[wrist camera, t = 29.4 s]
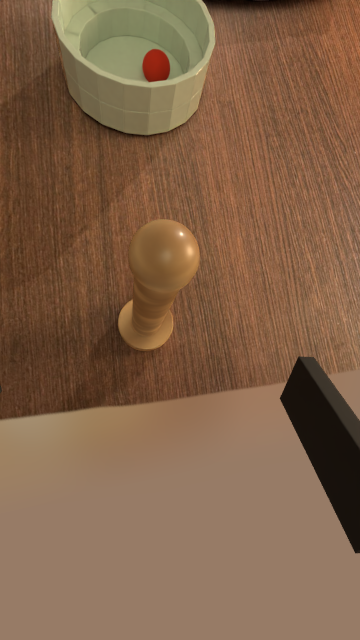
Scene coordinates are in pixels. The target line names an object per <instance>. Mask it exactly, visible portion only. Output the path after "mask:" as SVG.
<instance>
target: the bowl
mask: <svg viewBox="0 0 360 640" xmlns="http://www.w3.org/2000/svg"><path fill="white" fill-rule="evenodd" d="M51 18H52V23H53V27H54V32H55V37H56V42H57V47H58V51H59V56H60V61H61V65H62V70H63V75H64V78H65V81H66V84H67V87H68V90H69V93H70V95H71V96H72V97H73V98H74V100H75V101H76V102H77V104H78V105H79V106H80V107H81V109H82V110H83V111H84V112H85V113H87V114H88V115H90V116H91V117H92V118H94V119H95V120H97V121H98V122H100V123H101V124H103V125H105V126H108V127H111V128H113V129H116V130H119V131H121V132H124V133H131V134H141V135H151V134H157V133H163V132H168V131H170V130H172V129H174V128H176V127H178V126H179V125H181V124H183V123H185V122H186V121H187V120H188V119H189V118H190V117H191V116H192V115H193V113H194V112H195V111H196V110H197V108H198V105H199V102H200V100H201V97H202V94H203V90H204V86H205V82H206V78H207V74H208V70H209V66H210V62H211V58H212V54H213V50H214V46H215V32H214V23H213V21H212V18H211V16H210V14H209V12H208V10H207V7H206V5H205V4H204V3H203V1H202V0H52V14H51ZM152 49H159V50H161V51H163V52H164V53H165V54H166V55H167V57H168V59H169V62H170V74H169V76H168V78H167V80H163V81H156V82H149V81H148V80H147V79H146V78H145V76H144V73H143V69H142V63H143V59H144V56H145V55H146V53H147V52H148V51H150V50H152Z"/></svg>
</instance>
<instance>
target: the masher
mask: <svg viewBox="0 0 360 640" xmlns="http://www.w3.org/2000/svg"><path fill="white" fill-rule="evenodd" d="M199 260H200V252H199V247H198V243H197V241H196V239H195V237H194V236H193V234H192V233H191V232H190V231H189V230H188V229H187V228H186V227H185V226H183V225H182V224H180V223H178V222H176V221H172V220H167V219H160V220H155V221H151V222H149V223H147V224H145V225H144V226H142V227H141V228H140V229H139V230H138V231H137V232H136V233H135V235H134V236H133V238H132V240H131V242H130V245H129V250H128V262H129V266H130V269H131V271H132V273H133V275H134V283H133V299H132V300H130V301H129V302H128V303H127V304H125V306H124V307H123V308H122V310H121V312H120V314H119V318H118V328H119V332H120V335H121V337H122V339H123V340H124V342H125V343H126V344H127V345H129V346H130V347H132V348H134V349H136V350H139V351H151V350H155V349H157V348H159V347H160V346H162V345H163V344H164V343H165V342H166V341H167V340H168V338H169V337H170V335H171V333H172V329H173V317H172V314H171V312H170V310H169V309H170V307H171V305H172V303H173V301H174V299H175V297H176V295H177V294H178V292H179V290H180V289H181V288H182V287H184V286H185V285H187V284H188V283H189V282H190V281H191V279H192V278H193V277H194V275H195V274H196V271H197V269H198V266H199Z"/></svg>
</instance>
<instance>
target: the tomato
mask: <svg viewBox="0 0 360 640" xmlns="http://www.w3.org/2000/svg"><path fill="white" fill-rule="evenodd" d="M142 69H143V73H144V76H145V78H146V79H147V80H148V81H149V82H156V81H163V80H167V78H168V76H169V74H170V62H169V59H168V57H167V55H166V54H165V53H164V52H163V51H161V50H159V49H152V50H150V51H148V52H147V53H146V55H145V56H144V59H143V63H142Z"/></svg>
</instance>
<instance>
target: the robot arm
mask: <svg viewBox="0 0 360 640" xmlns="http://www.w3.org/2000/svg"><path fill="white" fill-rule="evenodd" d="M1 391H2V390H1V386H0V393H1ZM280 400H281V402H282V404H283V406H284V408H285V410H286V412H287V414H288V416H289V418H290V420H291V422H292V424H293V426H294V429H295V431H296V433H297V434H298V437H299V439H300V441H301V443H302V445H303V447H304V449H305V451H306V453H307V455H308V457H309V459H310V461H311V463H312V465H313V467H314V469H315V472H316V474H317V476H318V478H319V480H320V482H321V484H322V486H323V488H324V490H325V492H326V494H327V496H328V498H329V500H330V502H331V504H332V506H333V508H334V511H335V513H336V515H337V517H338V519H339V521H340V523H341V525H342V527H343V529H344V531H345V533H346V535H347V537H348V539H349V541H350V543H351V545H352V547H353V549H354V551H355V553H360V421H359V419H358V418H357V416H356V415H355V414H354V412H353V411H352V409H351V408H350V407H349V405H348V404H347V403H346V401H345V400H344V398H343V397H342V396H341V394H340V393H339V391H338V390H337V389H336V387H335V386H334V385H333V383H332V382H331V380H330V379H329V378H328V376H327V375H326V373H325V372H324V371H323V369H322V368H321V366H320V365H319V364H318V362H317V361H316V359H315V358H314V357H298V359H297V361H296V363H295V366H294V368H293V370H292V372H291V375H290V377H289V379H288V381H287V384H286V386H285V388H284V391H283V393H282V395H281V397H280Z"/></svg>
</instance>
